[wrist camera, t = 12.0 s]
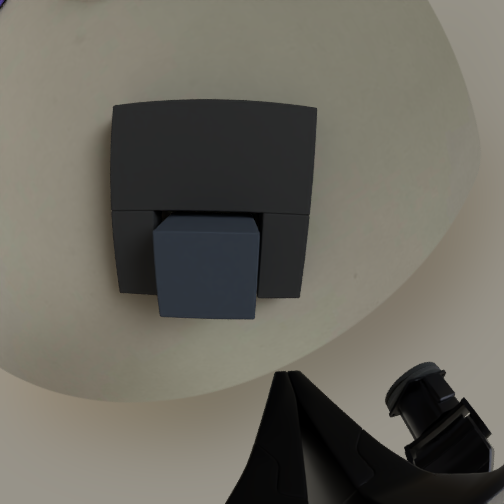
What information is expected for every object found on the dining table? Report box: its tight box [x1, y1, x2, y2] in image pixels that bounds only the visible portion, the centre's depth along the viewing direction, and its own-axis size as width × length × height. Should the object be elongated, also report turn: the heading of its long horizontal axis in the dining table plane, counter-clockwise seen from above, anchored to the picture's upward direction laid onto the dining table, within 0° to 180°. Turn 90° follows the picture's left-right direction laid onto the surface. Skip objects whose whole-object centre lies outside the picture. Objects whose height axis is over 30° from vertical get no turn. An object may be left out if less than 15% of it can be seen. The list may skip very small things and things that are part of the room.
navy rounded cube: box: [152, 212, 260, 319], centre depth 16 cm, size 5×5×5 cm
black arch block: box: [110, 99, 317, 298], centre depth 16 cm, size 12×12×2 cm
